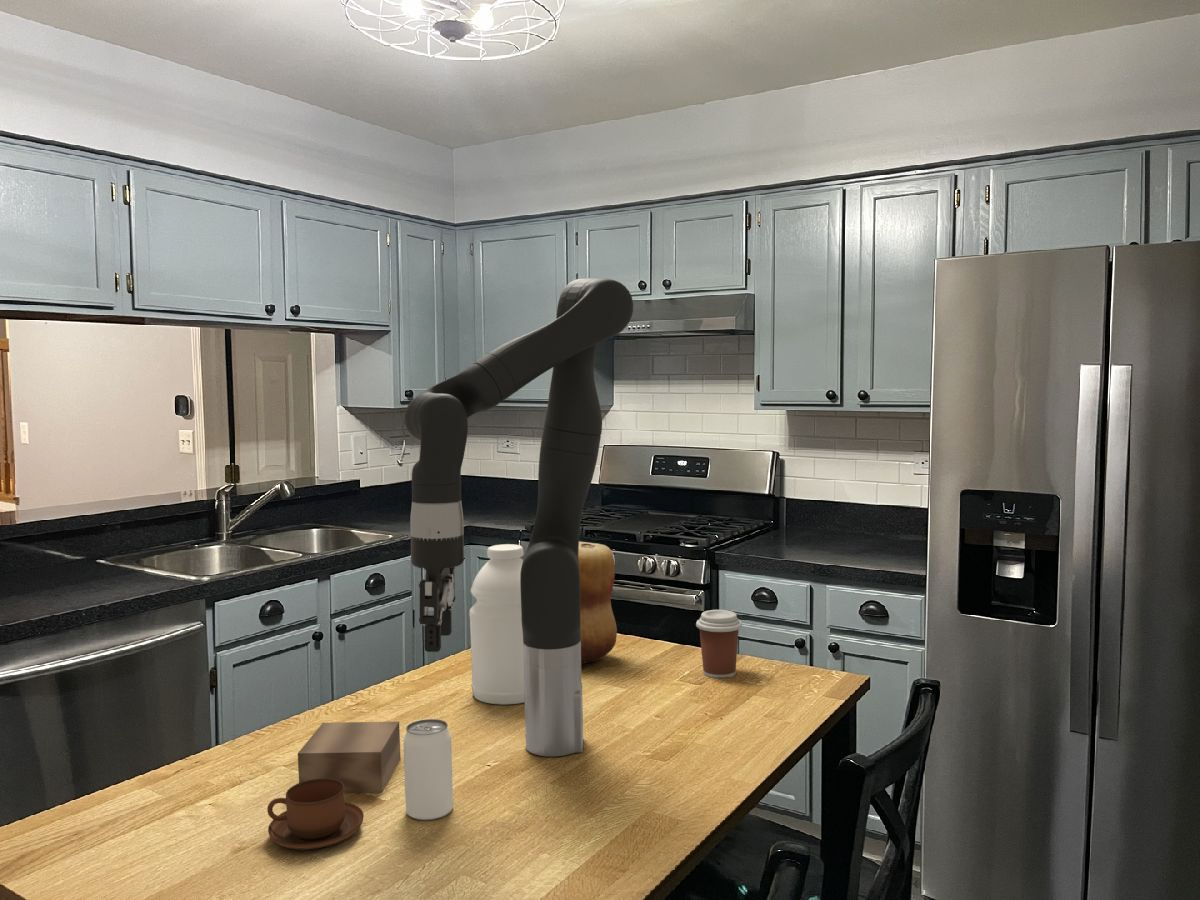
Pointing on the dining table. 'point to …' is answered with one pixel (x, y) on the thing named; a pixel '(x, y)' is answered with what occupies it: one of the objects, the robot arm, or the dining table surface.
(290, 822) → the cup and saucer
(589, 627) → the butternut squash
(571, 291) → the robot arm
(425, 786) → the can
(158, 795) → the dining table surface
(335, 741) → the walnut block
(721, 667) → the coffee cup
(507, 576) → the bottle
